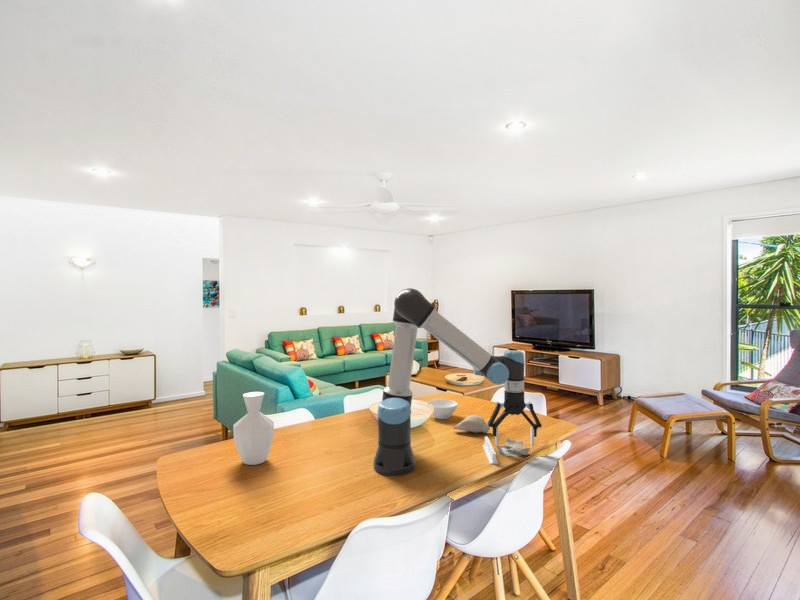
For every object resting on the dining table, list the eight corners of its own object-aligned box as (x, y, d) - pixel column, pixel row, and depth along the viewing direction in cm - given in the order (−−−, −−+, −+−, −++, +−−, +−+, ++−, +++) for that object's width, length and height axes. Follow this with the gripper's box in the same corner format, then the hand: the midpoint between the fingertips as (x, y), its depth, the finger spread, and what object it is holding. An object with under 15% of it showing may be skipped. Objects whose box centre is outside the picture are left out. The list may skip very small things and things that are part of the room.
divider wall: (490, 464, 143) (490, 453, 143) (482, 446, 161) (482, 436, 161) (498, 464, 143) (498, 453, 143) (489, 446, 161) (489, 436, 161)
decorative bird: (490, 434, 171) (491, 417, 173) (453, 428, 174) (455, 410, 176) (488, 435, 179) (490, 418, 181) (453, 429, 182) (455, 412, 184)
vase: (281, 455, 153) (280, 390, 153) (258, 470, 139) (258, 400, 139) (249, 451, 157) (249, 388, 156) (224, 466, 143) (224, 397, 143)
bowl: (441, 410, 212) (441, 397, 212) (464, 417, 200) (464, 403, 200) (419, 416, 202) (419, 402, 202) (442, 424, 190) (442, 409, 189)
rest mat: (502, 458, 149) (502, 457, 149) (496, 446, 161) (496, 445, 161) (534, 458, 148) (534, 458, 148) (526, 446, 160) (526, 446, 160)
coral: (526, 455, 147) (528, 443, 148) (500, 448, 154) (502, 436, 155) (532, 456, 151) (533, 444, 152) (506, 448, 158) (508, 437, 159)
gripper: (483, 392, 151) (483, 447, 151) (549, 393, 150) (550, 448, 150) (480, 388, 159) (480, 440, 159) (543, 388, 157) (543, 441, 157)
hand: (514, 444), depth 154 cm, fingers open, 13 cm apart
